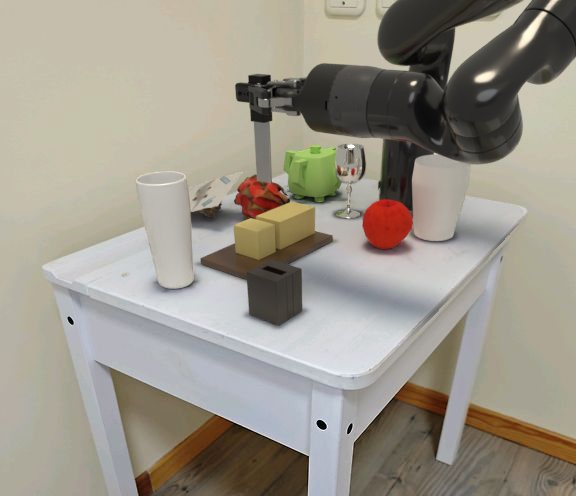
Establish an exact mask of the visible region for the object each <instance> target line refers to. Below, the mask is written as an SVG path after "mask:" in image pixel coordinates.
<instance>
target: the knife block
mask: <svg viewBox="0 0 576 496" xmlns="http://www.w3.org/2000/svg"><path fill="white" fill-rule="evenodd" d="M246 275H247V280H246V284H247V285H246V287H247V302H248V303H247V304H248V314H249V316H252V317H256V318H258V319H260V320H263V321H265V322H268V323H271V324H272V325H276V326H280V325H282V324H283V323H285V322H286V321H288V320H289V319H291V318H293V317H295V316H296V315H298V314H300V313H301V312H303V268H300V267H298V266H295V265H292V264H285V263H282V262H278V261H275V260H270V261H268V262H266V263H264V264H262V265H260V266H258V267H256V268H254V269H252V270H250V271H248V272H246Z"/></svg>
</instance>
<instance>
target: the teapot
mask: <svg viewBox="0 0 576 496" xmlns="http://www.w3.org/2000/svg"><path fill="white" fill-rule="evenodd" d="M336 151H337V147H333V146H329V147H328V146H327V148H322V145H321V144H314V143H313V144H311V145H309V148H304V149H302V150H299V151H298V150H291V149H289V150H286V151H285V153H284V154H285V155H284V162H283V172H284V173H286V174H287V175H288V176H287V177H288V178H287V186H288V189H289V191H290V193H291V194H294V199H299V200H300V199H304V198H305V197H310V198H311V197H312V198H314V202H315V203H323V202H325V198H324V197H326V196H329V197H334V196H336V195H337V194H336V192H337V191H338V190H339V189H340V187H341V185H342V184H343V183H342V182H340V181H339V180H338V179H337V178H336V176H335V174H334V160H335V155H336Z"/></svg>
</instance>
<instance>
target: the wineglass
mask: <svg viewBox="0 0 576 496" xmlns="http://www.w3.org/2000/svg"><path fill="white" fill-rule="evenodd" d="M366 155H367V154H366V149H365V146H364V145H363V144H359V143H342V144H338V145H337V147H336V155H335V160H334V174H335V176H336V178H337V179H338V180H339V181H340V182H342V183H341V184H344V185H347V186H346V189H345V190H346V191H345V192H346V196H347V203H346V208H345V209H343V210H339V211H336V214H335V215H336V216H337V217H339V218H340V219H341V218H342V219H356V218H358V217H360V216H361V213H360V212H359V211H357V210H354V209H352V208H351V194H352V192H353V188H352V185H354V184H357V183H359V182H360V181H362V180H363V179H364V177H365V175H366V171H367V157H366Z"/></svg>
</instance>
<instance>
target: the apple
mask: <svg viewBox="0 0 576 496" xmlns="http://www.w3.org/2000/svg"><path fill="white" fill-rule="evenodd" d="M413 227H414V225H413V216H411V214H410V212H409V210H408V209H407V208H406V207H405V206H404V205H403V204H402V203H400V202H398V201H394V200H386V199H384V200H379V199H378V200H376V201H374V202H372V203H371V205H369V206H367V208H366V209H365V210H364V212H363V215H362V230H363V233H364V236H365V237H366V238H367V240H368V242H369V243H370V244H371V245H372V247H374V248H377V249H379V250H390V249H392V248H396V247H397V246H398V245H399V244H401V243H402V242H403V241H404V240H405V238H407V237H408V235H409V234H410V233H411V231H412V230H413Z"/></svg>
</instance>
